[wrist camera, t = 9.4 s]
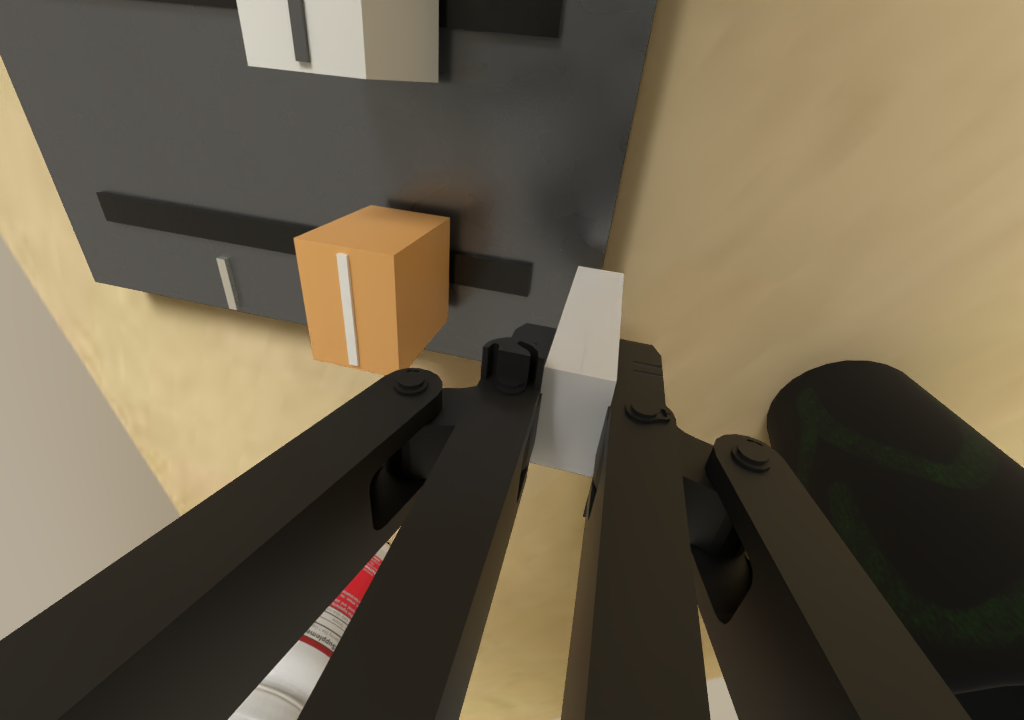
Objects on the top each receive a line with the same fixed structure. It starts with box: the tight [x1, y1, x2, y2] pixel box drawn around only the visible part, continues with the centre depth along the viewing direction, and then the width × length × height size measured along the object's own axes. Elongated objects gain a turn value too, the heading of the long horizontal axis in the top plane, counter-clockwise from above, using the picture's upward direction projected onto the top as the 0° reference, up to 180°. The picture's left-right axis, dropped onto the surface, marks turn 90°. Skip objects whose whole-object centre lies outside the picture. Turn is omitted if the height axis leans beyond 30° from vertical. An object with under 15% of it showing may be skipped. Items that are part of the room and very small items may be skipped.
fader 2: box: [294, 205, 450, 375], centre depth 15 cm, size 4×3×4 cm
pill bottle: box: [228, 543, 390, 720], centre depth 28 cm, size 6×6×11 cm
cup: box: [767, 361, 1024, 720], centre depth 14 cm, size 8×8×12 cm
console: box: [0, 0, 657, 361], centre depth 17 cm, size 16×24×2 cm, turn 84°
